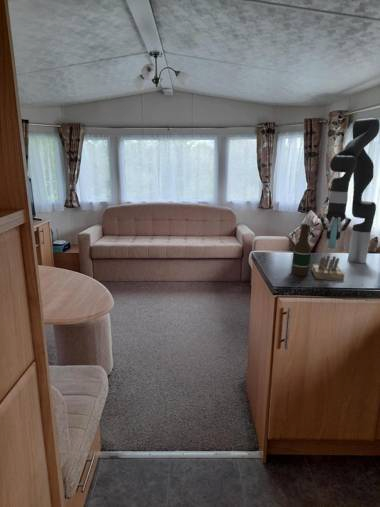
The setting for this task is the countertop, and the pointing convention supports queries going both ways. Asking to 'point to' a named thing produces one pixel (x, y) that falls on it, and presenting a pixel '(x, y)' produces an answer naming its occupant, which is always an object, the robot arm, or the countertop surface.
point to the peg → (333, 234)
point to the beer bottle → (301, 253)
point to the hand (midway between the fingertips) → (332, 239)
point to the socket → (328, 269)
